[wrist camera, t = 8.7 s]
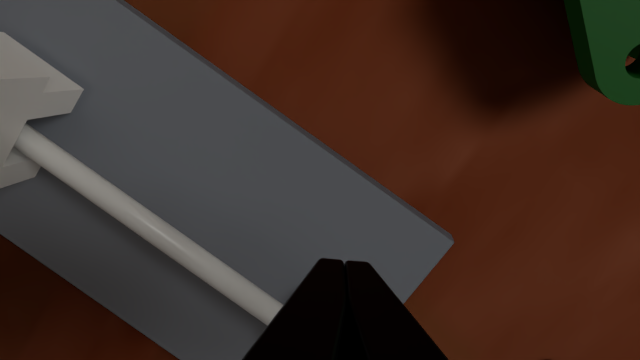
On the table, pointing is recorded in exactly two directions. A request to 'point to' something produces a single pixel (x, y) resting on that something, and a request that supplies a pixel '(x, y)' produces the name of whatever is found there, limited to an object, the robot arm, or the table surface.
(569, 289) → the table surface
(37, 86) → the stepped pale block
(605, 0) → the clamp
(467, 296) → the table surface
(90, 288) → the flat grey panel
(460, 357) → the table surface
